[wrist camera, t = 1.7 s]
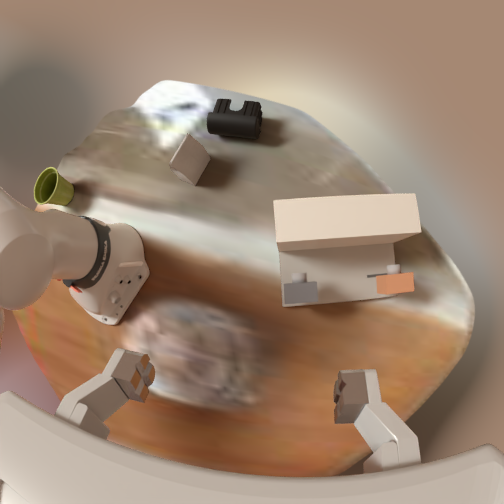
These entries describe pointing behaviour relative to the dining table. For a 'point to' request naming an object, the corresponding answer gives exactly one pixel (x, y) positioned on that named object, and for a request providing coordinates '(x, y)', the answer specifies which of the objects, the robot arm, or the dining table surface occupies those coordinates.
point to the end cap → (235, 119)
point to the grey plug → (300, 290)
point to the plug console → (342, 241)
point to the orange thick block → (395, 281)
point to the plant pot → (53, 188)
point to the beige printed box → (189, 160)
